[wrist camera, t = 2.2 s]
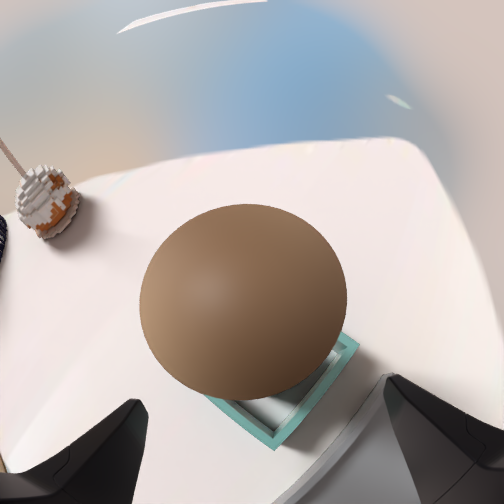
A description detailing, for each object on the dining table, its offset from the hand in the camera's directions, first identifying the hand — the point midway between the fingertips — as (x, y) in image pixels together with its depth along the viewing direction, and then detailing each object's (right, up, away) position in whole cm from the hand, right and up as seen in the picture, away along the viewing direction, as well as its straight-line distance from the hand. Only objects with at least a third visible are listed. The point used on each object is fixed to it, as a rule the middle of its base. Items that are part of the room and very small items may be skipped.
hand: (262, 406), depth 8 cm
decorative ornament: (-25, +10, +20) cm, 34 cm away
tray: (+9, -12, +4) cm, 16 cm away
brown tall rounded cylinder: (+1, -3, +10) cm, 11 cm away
